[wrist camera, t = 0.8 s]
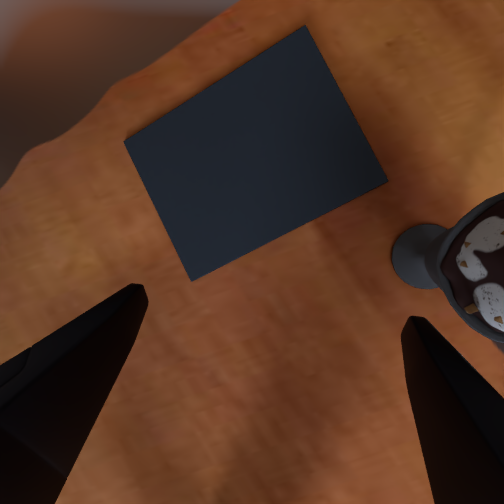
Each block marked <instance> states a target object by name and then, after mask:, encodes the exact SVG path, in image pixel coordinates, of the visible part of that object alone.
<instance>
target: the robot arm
mask: <svg viewBox="0 0 504 504" xmlns="http://www.w3.org/2000/svg"><path fill="white" fill-rule="evenodd" d="M147 307H148V297H147V295H146V292H145V289H144V286H143V285H141V284H134V283H132V284H129V285H127V286H126V287H124V288H123V289H121V290H119V291H118V292H116V293H115V294H113V295H112V296H110V297H108V298H107V299H105V300H104V301H102V302H100V303H99V304H97V305H96V306H94V307H93V308H91V309H89V310H88V311H86V312H85V313H83V314H81V315H80V316H78V317H77V318H75V319H74V320H72V321H70V322H69V323H67V324H66V325H64V326H62V327H61V328H59V329H58V330H56V331H55V332H53V333H51V334H50V335H48V336H47V337H45V338H43V339H42V340H40V341H39V342H37V343H35V344H34V345H32V347H29V348H27V349H26V350H24V351H23V352H21V353H20V354H18V355H16V356H15V357H13V358H11V359H10V360H8V361H6V362H5V363H3V364H2V365H0V504H55V502H56V500H57V498H58V496H59V494H60V492H61V490H62V488H63V486H64V484H65V482H66V480H67V477H68V476H69V474H70V472H71V470H72V468H73V466H74V464H75V462H76V460H77V458H78V456H79V454H80V452H81V450H82V447H83V445H84V443H85V441H86V439H87V437H88V435H89V433H90V431H91V429H92V427H93V425H94V423H95V421H96V419H97V417H98V415H99V413H100V411H101V409H102V407H103V405H104V403H105V401H106V399H107V397H108V395H109V393H110V391H111V389H112V387H113V385H114V383H115V381H116V379H117V377H118V375H119V373H120V371H121V369H122V367H123V365H124V363H125V361H126V359H127V357H128V355H129V353H130V351H131V349H132V347H133V345H134V342H135V340H136V337H137V334H138V332H139V329H140V326H141V324H142V321H143V318H144V316H145V313H146V310H147ZM401 343H402V352H403V360H404V369H405V377H406V384H407V389H408V394H409V398H410V402H411V407H412V411H413V415H414V419H415V423H416V428H417V432H418V436H419V440H420V444H421V449H422V453H423V457H424V461H425V465H426V470H427V474H428V478H429V482H430V486H431V491H432V495H433V499H434V503H435V504H504V398H503V397H502V396H501V395H500V394H499V393H498V392H497V391H496V390H495V389H494V388H493V387H492V386H491V385H490V384H489V383H488V382H487V381H486V380H485V379H484V378H483V377H482V376H481V375H480V374H479V373H478V372H477V370H476V369H475V368H474V367H473V366H472V365H471V364H470V363H469V362H468V361H467V360H466V359H465V358H464V357H463V356H462V355H461V354H460V353H459V352H458V351H457V350H456V349H455V348H454V347H453V346H452V345H451V344H450V343H449V342H448V341H447V340H446V339H445V338H444V337H443V336H442V335H441V334H440V332H439V331H438V330H437V329H436V328H435V327H434V326H433V325H432V324H431V323H430V322H429V321H428V320H427V319H426V318H424V317H419V316H410V317H409V318H408V320H407V322H406V324H405V326H404V328H403V330H402V333H401Z"/></svg>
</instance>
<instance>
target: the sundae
mask: <svg viewBox="0 0 504 504" xmlns="http://www.w3.org/2000/svg"><path fill="white" fill-rule="evenodd" d="M392 262H393V266H394V269H395V271H396V273H397V274H398V275H399V277H400V278H401V279H402V280H403V281H404V282H406V283H408V284H409V285H411V286H414V287H416V288H421V289H433V288H438V287H439V288H440V289H441V290H442V291H443V292H444V293H445V295H446V297H447V299H448V301H449V303H450V305H451V306H452V307H453V308H454V310H455V311H456V312H457V313H458V315H459V316H460V317H461V318H462V319H463V320H464V321H465V322H466V323H467V324H468V325H469V326H470V327H471V328H472V329H474V330H475V331H477V332H478V333H480V334H482V335H483V336H485V337H487V338H489V339H491V340H493V341H496V342H500V343H504V192H503V193H500V194H498V195H496V196H493V197H491V198H488V199H486V200H485V201H483V202H482V203H480V204H479V205H478V206H476V207H475V208H473V209H472V210H471V211H470V212H468V213H467V214H466V215H465V216H464V217H462V218H461V219H460V220H459V221H458V223H457V224H456V225H455V226H454V227H451V228H450V229H448V230H447V229H445V228H443V227H441V226H438V225H433V224H422V225H418V226H415V227H412V228H410V229H408V230H407V231H405V232H404V233H403V234H402V235H401V236H400V237H399V238H398V240H397V241H396V243H395V245H394V247H393V252H392Z"/></svg>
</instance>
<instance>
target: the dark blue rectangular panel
mask: <svg viewBox="0 0 504 504" xmlns="http://www.w3.org/2000/svg"><path fill="white" fill-rule="evenodd" d="M124 144H125V146H126V148H127V150H128V152H129V154H130V157H131V159H132V161H133V163H134V165H135V167H136V169H137V171H138V173H139V175H140V177H141V179H142V181H143V183H144V185H145V187H146V189H147V192H148V194H149V196H150V198H151V200H152V202H153V204H154V206H155V208H156V210H157V212H158V214H159V216H160V218H161V220H162V222H163V225H164V227H165V229H166V231H167V233H168V235H169V237H170V239H171V241H172V243H173V245H174V247H175V249H176V251H177V253H178V255H179V258H180V260H181V262H182V264H183V266H184V268H185V270H186V272H187V274H188V276H189V278H190V280H191V282H192V281H194V280H196V279H198V278H200V277H202V276H204V275H206V274H208V273H210V272H212V271H214V270H215V269H217V268H219V267H221V266H223V265H225V264H227V263H229V262H231V261H233V260H235V259H237V258H239V257H241V256H243V255H245V254H247V253H249V252H251V251H253V250H255V249H257V248H259V247H260V246H262V245H264V244H266V243H268V242H270V241H272V240H274V239H276V238H278V237H280V236H282V235H284V234H286V233H288V232H290V231H292V230H294V229H296V228H298V227H300V226H302V225H304V224H306V223H307V222H309V221H311V220H313V219H315V218H317V217H319V216H321V215H323V214H325V213H327V212H329V211H331V210H333V209H335V208H337V207H339V206H341V205H343V204H345V203H347V202H349V201H351V200H352V199H354V198H356V197H358V196H360V195H362V194H364V193H366V192H368V191H370V190H372V189H374V188H376V187H378V186H380V185H382V184H384V183H386V182H388V179H387V177H386V175H385V173H384V171H383V170H382V168H381V166H380V164H379V162H378V160H377V158H376V156H375V155H374V153H373V151H372V149H371V147H370V145H369V143H368V141H367V140H366V138H365V136H364V134H363V132H362V130H361V128H360V126H359V125H358V123H357V121H356V119H355V117H354V115H353V113H352V111H351V109H350V108H349V106H348V104H347V102H346V100H345V98H344V96H343V94H342V93H341V91H340V89H339V87H338V85H337V83H336V81H335V79H334V78H333V76H332V74H331V72H330V70H329V68H328V66H327V64H326V63H325V61H324V59H323V57H322V55H321V53H320V51H319V49H318V48H317V46H316V44H315V42H314V40H313V38H312V36H311V34H310V32H309V31H308V29H307V27H306V25H304V26H303V27H301V28H300V29H298V30H297V31H295V32H294V33H292V34H290V35H289V36H287V37H286V38H284V39H283V40H281V41H280V42H278V43H276V44H275V45H273V46H272V47H270V48H269V49H267V50H266V51H264V52H262V53H261V54H259V55H258V56H256V57H255V58H253V59H252V60H250V61H248V62H247V63H245V64H244V65H242V66H241V67H239V68H237V69H236V70H234V71H233V72H231V73H230V74H228V75H227V76H225V77H223V78H222V79H220V80H219V81H217V82H216V83H214V84H213V85H211V86H209V87H208V88H206V89H205V90H203V91H202V92H200V93H199V94H197V95H195V96H194V97H192V98H191V99H189V100H188V101H186V102H185V103H183V104H181V105H180V106H178V107H177V108H175V109H174V110H172V111H171V112H169V113H167V114H166V115H164V116H163V117H161V118H160V119H158V120H156V121H155V122H153V123H152V124H150V125H149V126H147V127H146V128H144V129H142V130H141V131H139V132H138V133H136V134H135V135H133V136H132V137H130V138H128V139H127V140H125V141H124Z"/></svg>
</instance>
